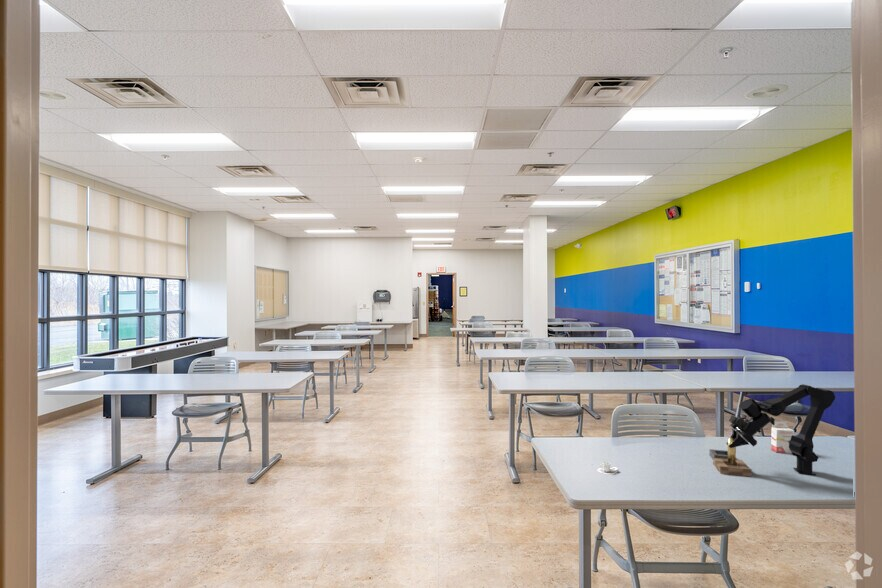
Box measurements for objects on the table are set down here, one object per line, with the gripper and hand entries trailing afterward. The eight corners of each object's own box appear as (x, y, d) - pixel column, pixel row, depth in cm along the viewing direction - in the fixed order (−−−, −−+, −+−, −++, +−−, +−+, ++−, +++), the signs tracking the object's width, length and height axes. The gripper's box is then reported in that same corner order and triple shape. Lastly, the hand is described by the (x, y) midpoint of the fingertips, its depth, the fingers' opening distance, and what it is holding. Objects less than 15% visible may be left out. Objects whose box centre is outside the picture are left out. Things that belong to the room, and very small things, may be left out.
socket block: (735, 463, 225) (735, 456, 225) (714, 461, 228) (714, 455, 228) (729, 457, 234) (729, 450, 234) (709, 455, 237) (709, 449, 237)
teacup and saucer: (619, 471, 216) (619, 462, 216) (616, 477, 209) (616, 467, 209) (599, 467, 220) (599, 458, 220) (595, 473, 213) (595, 464, 213)
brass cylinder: (736, 464, 215) (736, 440, 215) (728, 463, 216) (728, 439, 216) (734, 461, 218) (734, 437, 218) (726, 461, 219) (726, 437, 219)
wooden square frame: (751, 476, 209) (751, 469, 209) (720, 473, 213) (720, 466, 213) (742, 466, 221) (742, 460, 221) (713, 464, 224) (713, 457, 224)
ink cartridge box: (776, 452, 241) (776, 423, 241) (770, 449, 246) (770, 421, 246) (794, 453, 240) (794, 424, 240) (788, 450, 245) (788, 421, 245)
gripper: (735, 405, 225) (709, 426, 228) (748, 415, 207) (720, 438, 210) (754, 423, 222) (727, 444, 225) (769, 434, 204) (740, 457, 208)
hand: (728, 445), depth 217 cm, fingers closed on brass cylinder, 3 cm apart
